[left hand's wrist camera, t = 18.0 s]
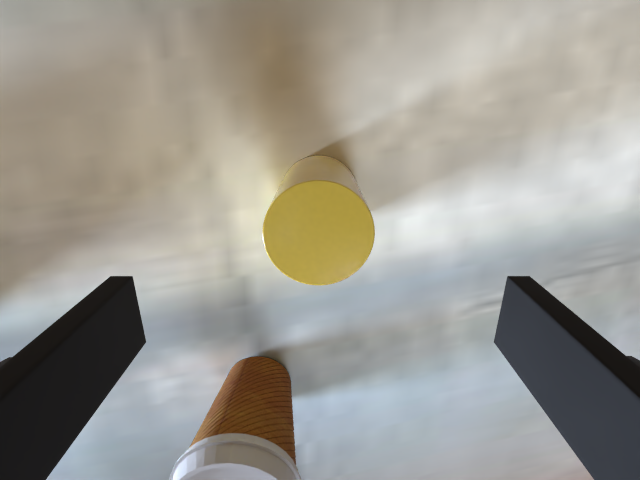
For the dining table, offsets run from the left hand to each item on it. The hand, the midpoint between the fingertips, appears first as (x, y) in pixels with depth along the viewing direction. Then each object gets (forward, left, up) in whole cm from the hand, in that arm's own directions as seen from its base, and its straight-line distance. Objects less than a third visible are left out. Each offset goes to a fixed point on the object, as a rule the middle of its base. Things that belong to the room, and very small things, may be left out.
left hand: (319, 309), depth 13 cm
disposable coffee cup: (-17, -11, -18) cm, 27 cm away
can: (0, 0, -18) cm, 18 cm away
